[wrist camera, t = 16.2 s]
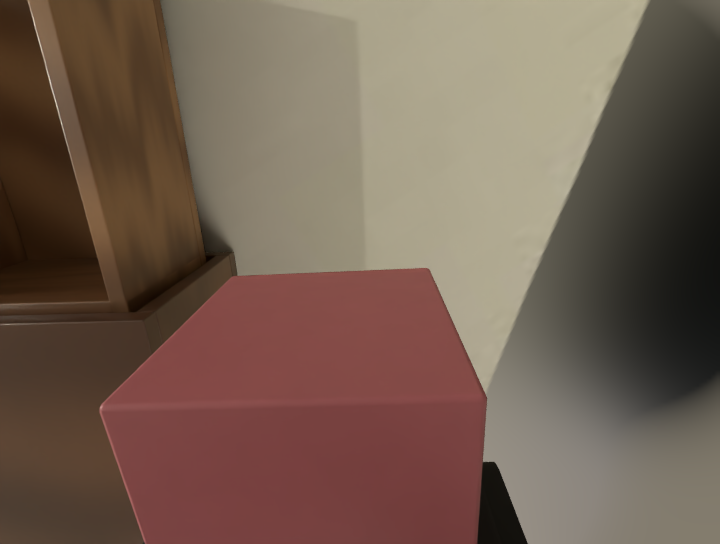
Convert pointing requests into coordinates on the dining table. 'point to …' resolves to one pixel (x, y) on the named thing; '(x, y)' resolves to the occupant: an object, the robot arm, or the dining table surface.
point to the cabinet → (78, 412)
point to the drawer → (91, 159)
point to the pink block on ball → (306, 417)
